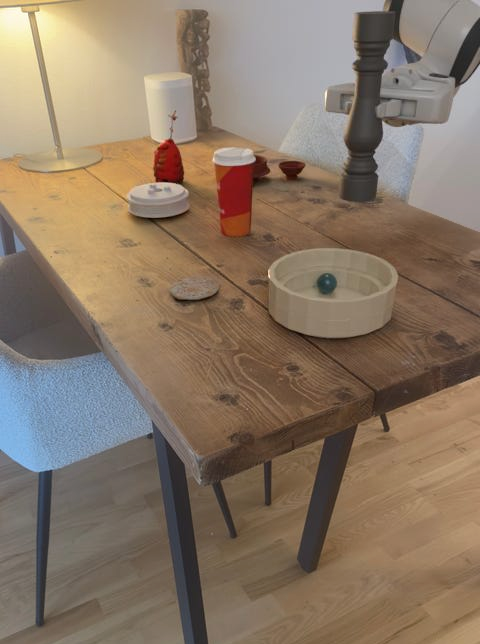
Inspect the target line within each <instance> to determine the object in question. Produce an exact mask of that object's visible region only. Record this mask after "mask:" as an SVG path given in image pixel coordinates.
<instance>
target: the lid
mask: <svg viewBox="0 0 480 644" xmlns="http://www.w3.org/2000/svg"><path fill="white" fill-rule="evenodd" d="M189 195H190V194H189V190H187V188H185V187H184V186H183V185H181V184H179V183H177V184H174V183H165V182H159V183H157V182H149V183H143V184H140V185H139V184H138V185H137V186H134V187H133V188H131V189H130V191H129V192H127V194H126V195H125V196H126V200H127V201H128V206H127V210H128V213H130V214H132V215H134V216H136V217H141V218H150V219H151V218H153V219H155V218H156V219H157V218H159V219H160V218H167V217H174V216H177V215H180V214H182V213H185V212H186V211H188V210H189V209H190V206H191V205H190V202H189Z"/></svg>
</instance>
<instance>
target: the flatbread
mask: <svg viewBox="0 0 480 644" xmlns="http://www.w3.org/2000/svg"><path fill="white" fill-rule="evenodd" d="M219 290H220V284H219V282H218V280H217V279H214V278H211V277H205V276H198V275H196V276H190V277H185V278H181V279H178V280H175V281H174V282H173V283H172V285H171V286H170V288H169V292H170V294H171V296H173V297H174V298H175V299H177V300H183V301H184V300H186V301H198V300H204V299H206V298H209V297H212V296H214V295H216V293H217V292H218V291H219Z"/></svg>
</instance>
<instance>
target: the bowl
mask: <svg viewBox="0 0 480 644" xmlns="http://www.w3.org/2000/svg"><path fill="white" fill-rule="evenodd" d="M267 272H268V273H267V274H268V275H267V276H268V277H267V308H268V309H267V310H268V313H269V315H270V316H271V317H272V319H274V321H275V322H277V323H278V324H279V325H281V326H283V327H285V328H286V329H287V330H291V331H294V332H297V333H300V334H303V335H307V336H309V337H310V336H311V337H315V338H322V339H344V338H352V337H358V336H363V335H367V334H369V333H372V332H374V331H377V330H379V329H381V328H383V327H384V326H385V325H386V324H387V323H388V322H390V320H392V316H393V313H394V312H393V311H394V306H395V301H396V294H397V288H398V283H399V274H398V272H397V270H396V268H395V266H393V264H391V263H389V262H388V261H387V260H386V259H384V258H381V257H379V256H376V255H374V254H372V253H367V252H364V251H359V250H355V249H348V248H338V247H326V248H325V247H319V248H318V247H316V248H308V249H302V250H297V251H294V252H291V253H288V254H285V255H282V256H281V257H279V258H278V259H276V260H274V261H273V262H272V264H271V265H270V267H269V268H268V270H267ZM324 273H330V274H333V275H334V276H335V278H336V280H337V286H336V289H335V290H334V291H333V292H331V293H329V294H324V293H322V292H320V291H319V290H318V288H317V280H318V278H319V276H320V275H322V274H324Z"/></svg>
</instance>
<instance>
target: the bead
mask: <svg viewBox="0 0 480 644" xmlns="http://www.w3.org/2000/svg"><path fill="white" fill-rule="evenodd" d="M336 286H337V280H336V278H335V276H334V275H333V274H330V273H324V274H322V275H320V276H319V278H318V280H317V288H318V290H319V291H320V292H322V293H324V294H329V293H331V292H333V291H334V290H335V289H336Z"/></svg>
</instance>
